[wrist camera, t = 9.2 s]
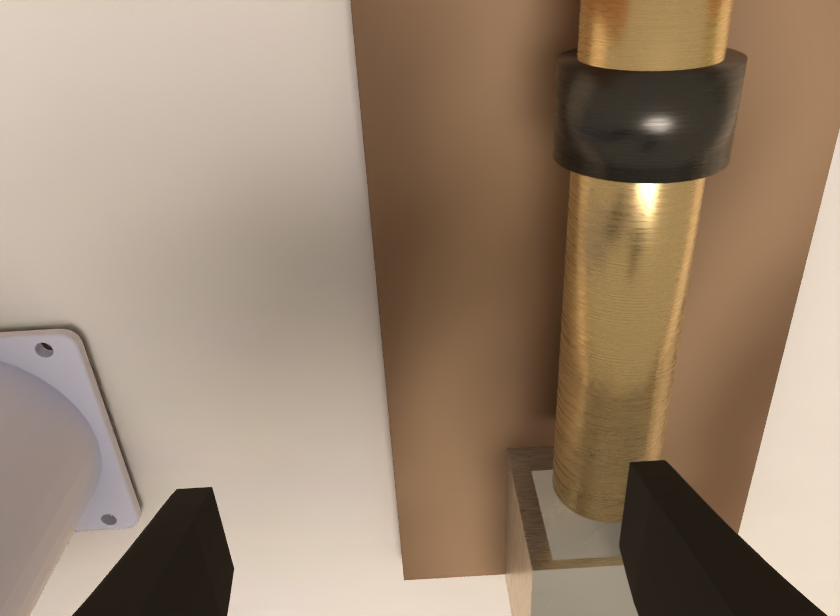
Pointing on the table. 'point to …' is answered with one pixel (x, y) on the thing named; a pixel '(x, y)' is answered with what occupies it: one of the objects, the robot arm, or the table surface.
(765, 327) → the base board
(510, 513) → the outer sleeve
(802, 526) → the table surface
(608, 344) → the inner tube
